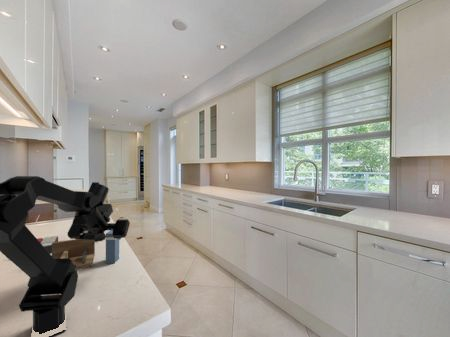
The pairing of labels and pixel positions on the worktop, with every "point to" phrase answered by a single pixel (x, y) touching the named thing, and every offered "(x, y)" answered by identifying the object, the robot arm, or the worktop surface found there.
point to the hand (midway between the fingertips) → (108, 238)
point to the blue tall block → (111, 248)
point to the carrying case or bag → (100, 237)
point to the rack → (75, 251)
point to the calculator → (48, 242)
